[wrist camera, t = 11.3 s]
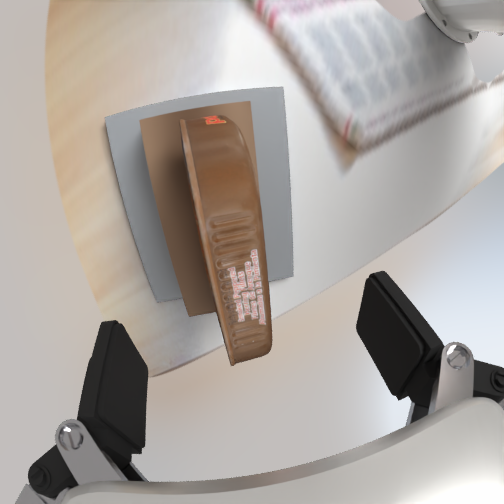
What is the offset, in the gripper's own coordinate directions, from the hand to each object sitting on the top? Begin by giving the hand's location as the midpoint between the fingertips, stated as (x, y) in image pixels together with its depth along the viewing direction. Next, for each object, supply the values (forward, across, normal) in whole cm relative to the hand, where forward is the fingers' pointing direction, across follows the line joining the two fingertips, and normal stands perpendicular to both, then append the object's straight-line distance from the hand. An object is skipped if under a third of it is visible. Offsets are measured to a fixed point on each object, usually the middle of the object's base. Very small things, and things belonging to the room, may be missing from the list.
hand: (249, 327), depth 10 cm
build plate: (+16, +1, +1) cm, 16 cm away
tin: (+11, 0, +1) cm, 11 cm away
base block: (+15, +1, +1) cm, 15 cm away
